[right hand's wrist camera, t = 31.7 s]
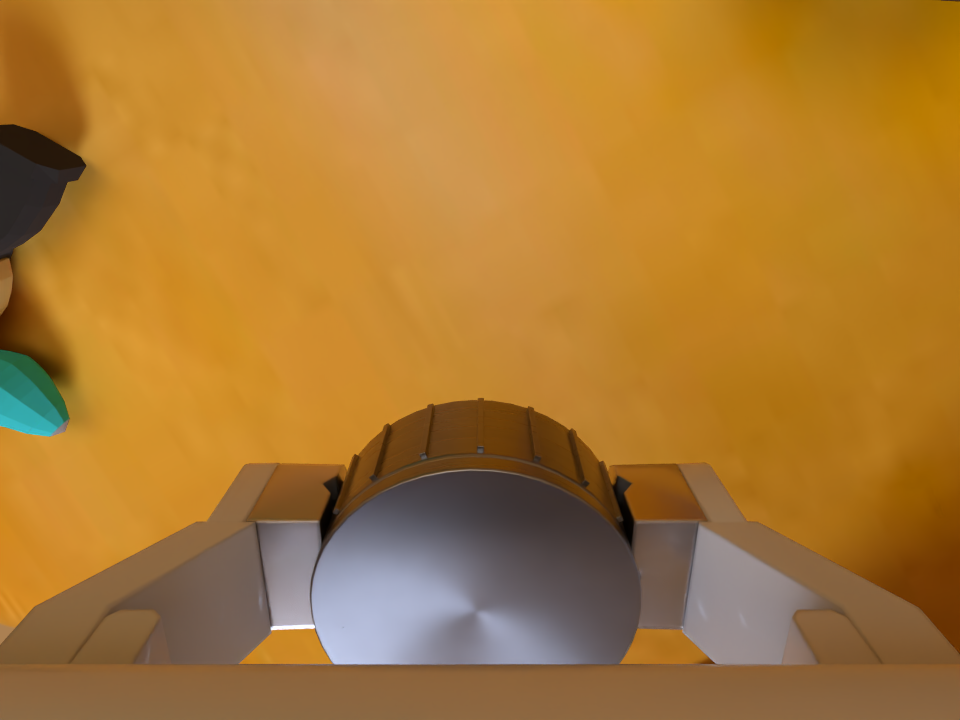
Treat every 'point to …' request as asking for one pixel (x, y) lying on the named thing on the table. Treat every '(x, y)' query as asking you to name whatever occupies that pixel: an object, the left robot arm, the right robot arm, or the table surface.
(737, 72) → the table surface
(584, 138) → the table surface
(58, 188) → the toy gun
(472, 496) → the cap
